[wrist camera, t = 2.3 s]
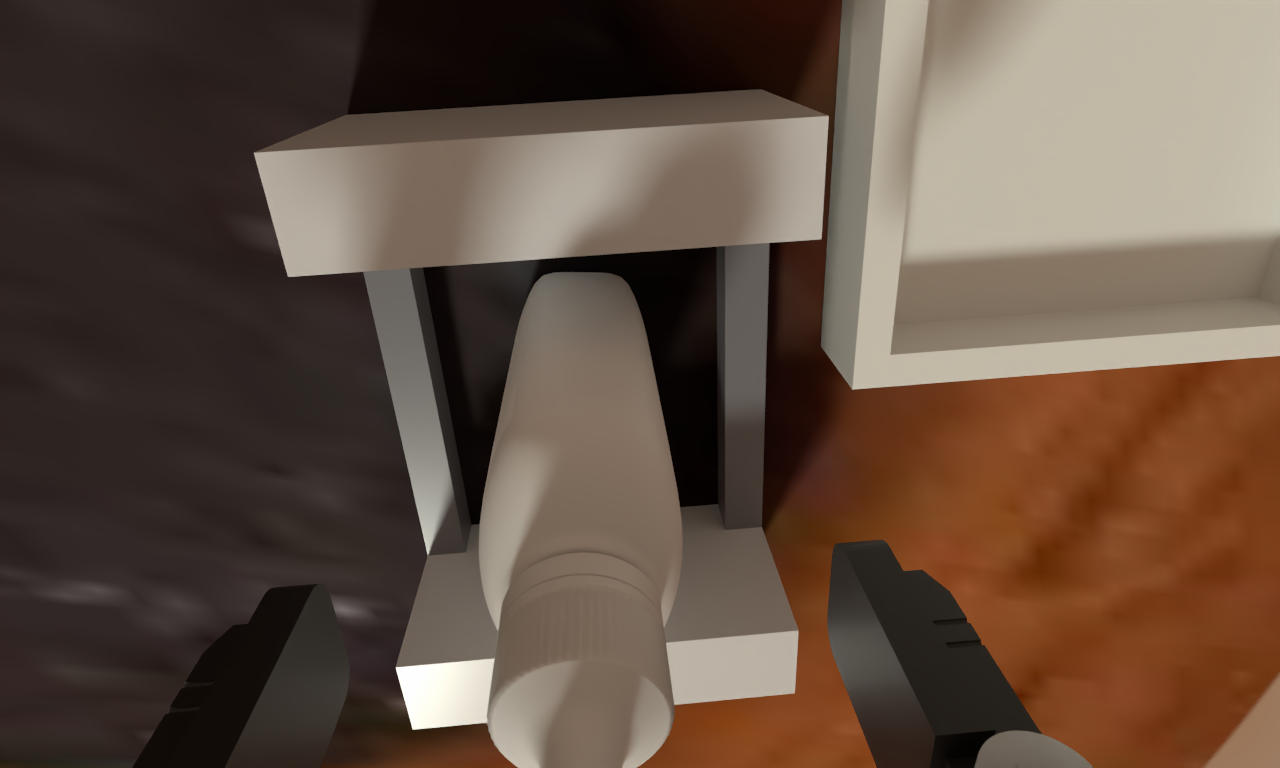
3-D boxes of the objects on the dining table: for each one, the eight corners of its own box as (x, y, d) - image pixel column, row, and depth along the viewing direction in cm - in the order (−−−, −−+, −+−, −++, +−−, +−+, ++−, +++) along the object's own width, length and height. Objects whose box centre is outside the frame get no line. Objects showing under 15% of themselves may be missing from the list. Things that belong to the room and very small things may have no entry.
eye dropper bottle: (456, 419, 19) (299, 918, 9) (558, 235, 17) (520, 585, 7) (601, 485, 21) (622, 994, 10) (711, 320, 19) (889, 732, 8)
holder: (346, 115, 16) (254, 152, 11) (761, 89, 16) (828, 115, 12) (447, 582, 22) (413, 729, 17) (751, 556, 22) (794, 693, 18)
